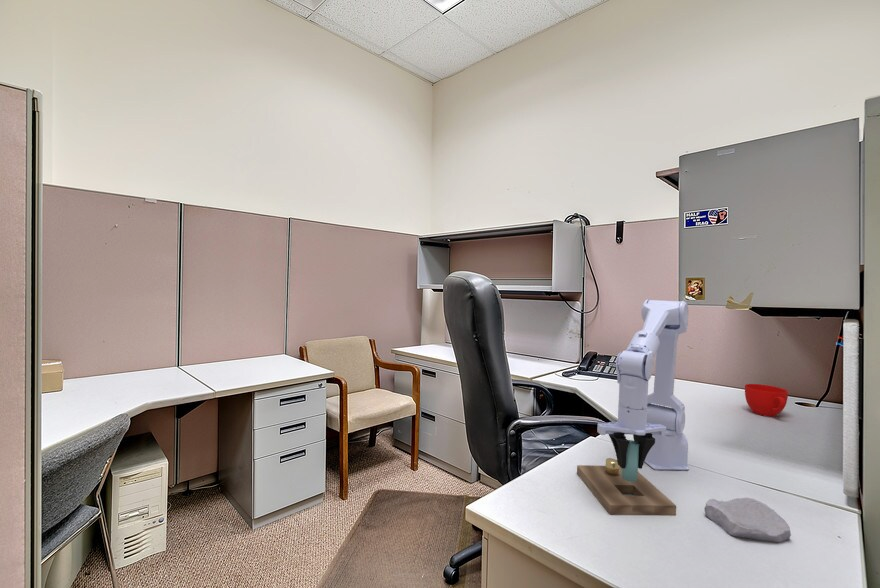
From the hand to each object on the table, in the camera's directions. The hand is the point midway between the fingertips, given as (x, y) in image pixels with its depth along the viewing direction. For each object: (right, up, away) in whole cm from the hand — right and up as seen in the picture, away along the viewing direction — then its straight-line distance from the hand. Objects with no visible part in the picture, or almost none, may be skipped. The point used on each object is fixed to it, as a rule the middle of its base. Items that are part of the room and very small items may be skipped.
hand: (629, 466), depth 89 cm
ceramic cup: (+82, -8, +64) cm, 104 cm away
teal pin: (0, -3, 0) cm, 3 cm away
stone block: (+19, -9, -9) cm, 23 cm away
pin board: (0, -7, +3) cm, 8 cm away
